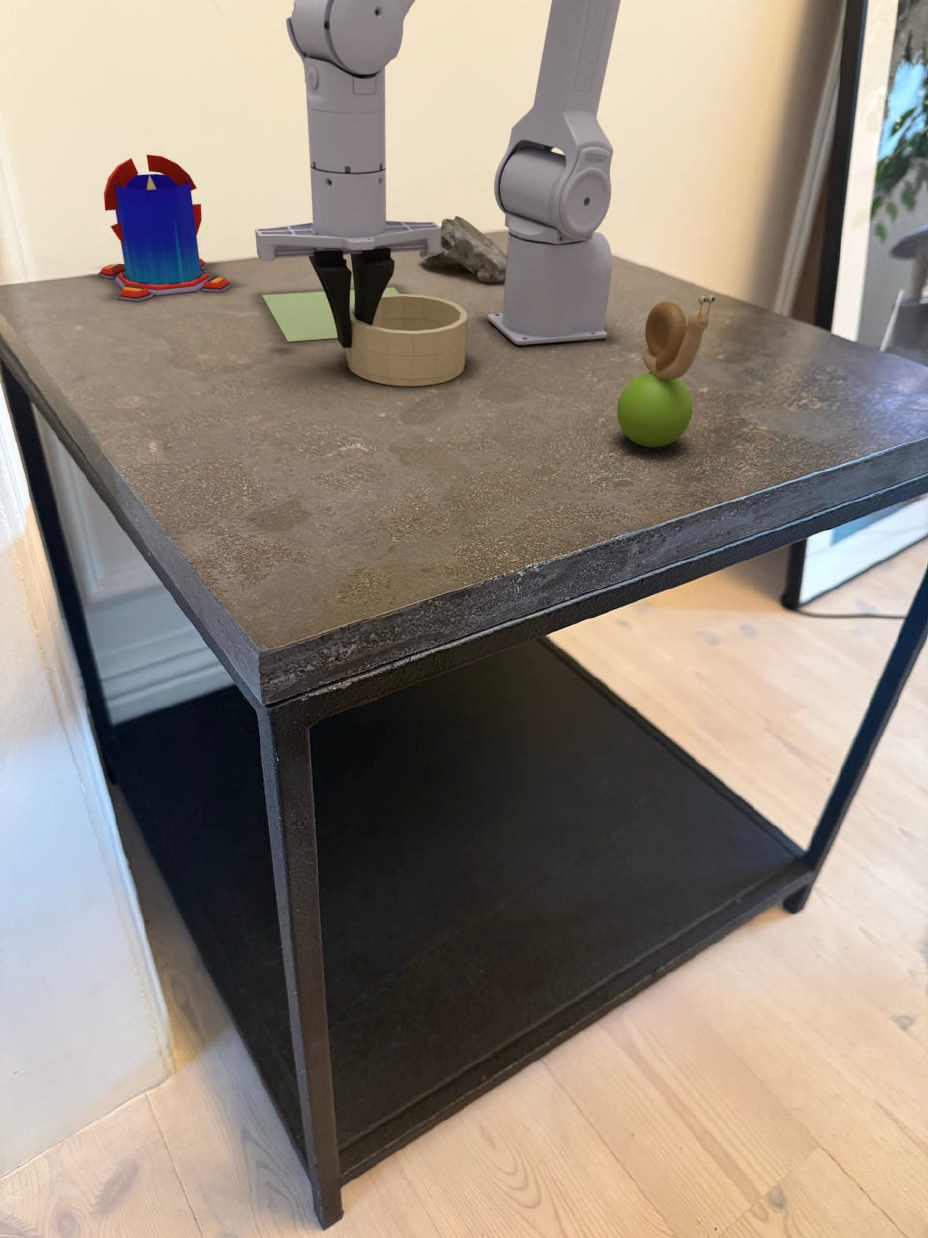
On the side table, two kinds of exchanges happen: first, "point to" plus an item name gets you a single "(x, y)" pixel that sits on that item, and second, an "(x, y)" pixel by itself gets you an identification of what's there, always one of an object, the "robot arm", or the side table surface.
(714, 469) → the side table surface
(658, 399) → the snail figurine
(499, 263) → the grey rock
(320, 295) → the mat
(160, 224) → the fantasy tower
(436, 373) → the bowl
